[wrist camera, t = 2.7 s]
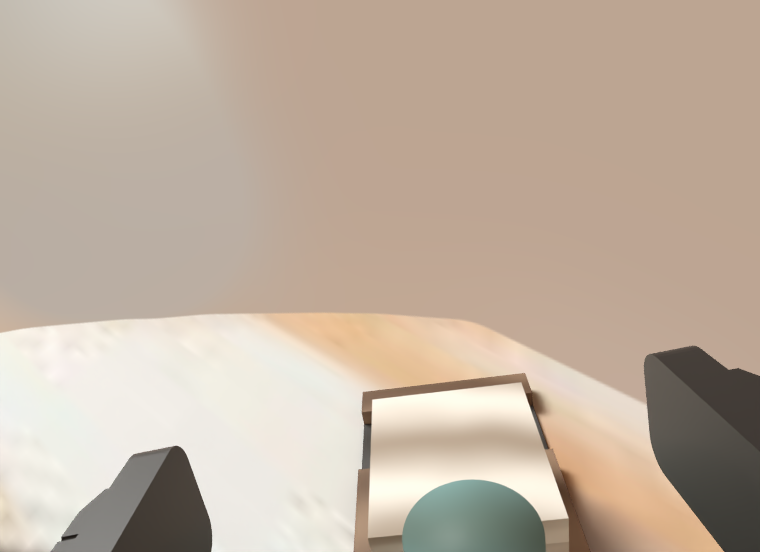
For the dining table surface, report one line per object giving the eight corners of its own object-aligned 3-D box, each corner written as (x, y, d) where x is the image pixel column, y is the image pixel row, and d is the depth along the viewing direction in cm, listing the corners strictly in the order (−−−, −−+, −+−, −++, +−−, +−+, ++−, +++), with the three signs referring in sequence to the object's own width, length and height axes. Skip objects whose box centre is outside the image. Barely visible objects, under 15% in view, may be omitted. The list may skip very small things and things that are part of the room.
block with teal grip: (576, 821, 22) (573, 591, 16) (441, 829, 22) (393, 607, 16) (499, 489, 36) (484, 307, 30) (419, 498, 36) (390, 319, 31)
